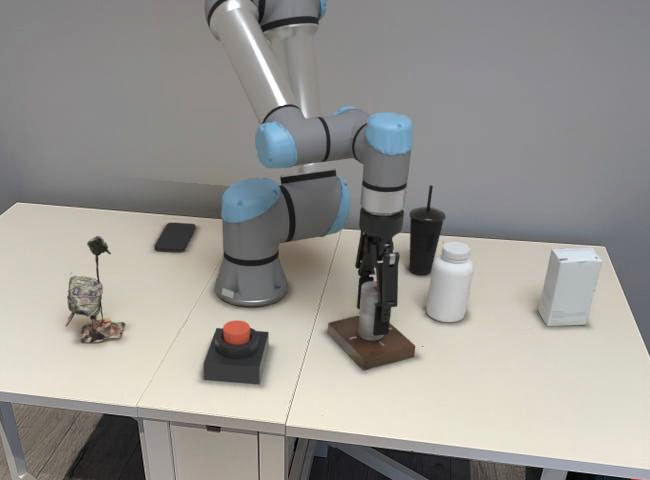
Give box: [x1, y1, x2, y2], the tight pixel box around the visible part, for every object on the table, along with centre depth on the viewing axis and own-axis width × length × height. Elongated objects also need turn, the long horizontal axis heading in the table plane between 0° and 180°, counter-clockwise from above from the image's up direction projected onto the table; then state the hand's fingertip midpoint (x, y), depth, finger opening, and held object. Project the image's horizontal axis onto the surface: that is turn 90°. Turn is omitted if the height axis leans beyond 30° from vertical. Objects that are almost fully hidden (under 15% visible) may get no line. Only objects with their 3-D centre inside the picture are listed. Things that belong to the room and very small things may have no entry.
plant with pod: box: [64, 235, 126, 343], centre depth 144 cm, size 8×11×20 cm
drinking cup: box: [408, 185, 446, 277], centre depth 167 cm, size 8×8×20 cm
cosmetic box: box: [538, 246, 603, 327], centre depth 151 cm, size 8×6×15 cm
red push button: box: [222, 319, 251, 345], centre depth 137 cm, size 5×5×2 cm
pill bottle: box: [426, 241, 475, 323], centre depth 152 cm, size 8×8×15 cm
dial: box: [358, 280, 384, 341], centre depth 142 cm, size 5×5×10 cm
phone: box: [153, 222, 197, 253], centre depth 185 cm, size 7×1×15 cm
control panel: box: [327, 314, 416, 371], centre depth 146 cm, size 14×11×3 cm
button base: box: [203, 327, 270, 385], centre depth 139 cm, size 12×10×6 cm
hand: (372, 320), depth 144 cm, fingers open, 9 cm apart
